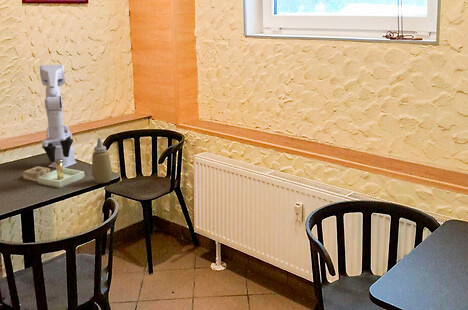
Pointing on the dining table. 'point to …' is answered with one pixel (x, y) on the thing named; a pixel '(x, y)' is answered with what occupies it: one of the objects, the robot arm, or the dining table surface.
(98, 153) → the squeeze bottle
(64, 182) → the tray
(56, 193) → the dining table surface
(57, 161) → the pin
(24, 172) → the lock block
